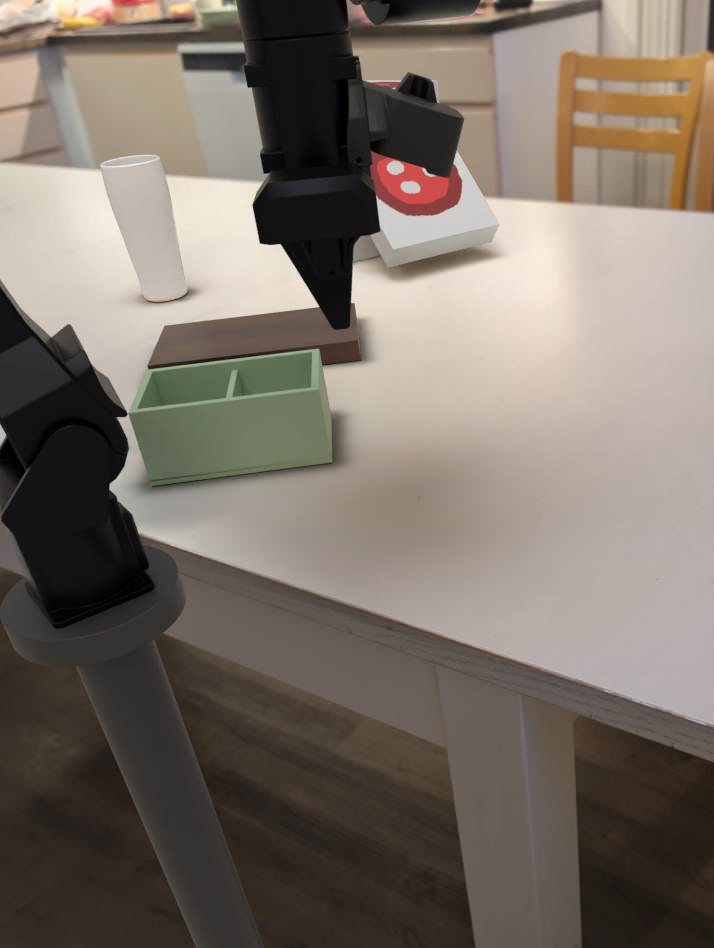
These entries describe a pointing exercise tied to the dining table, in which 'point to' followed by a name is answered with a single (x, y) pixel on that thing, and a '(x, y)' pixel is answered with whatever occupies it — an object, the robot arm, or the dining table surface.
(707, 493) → the dining table surface
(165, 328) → the bread board
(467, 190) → the pizza boxes
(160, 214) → the drinking glass
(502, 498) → the dining table surface
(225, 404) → the cutlery holder
